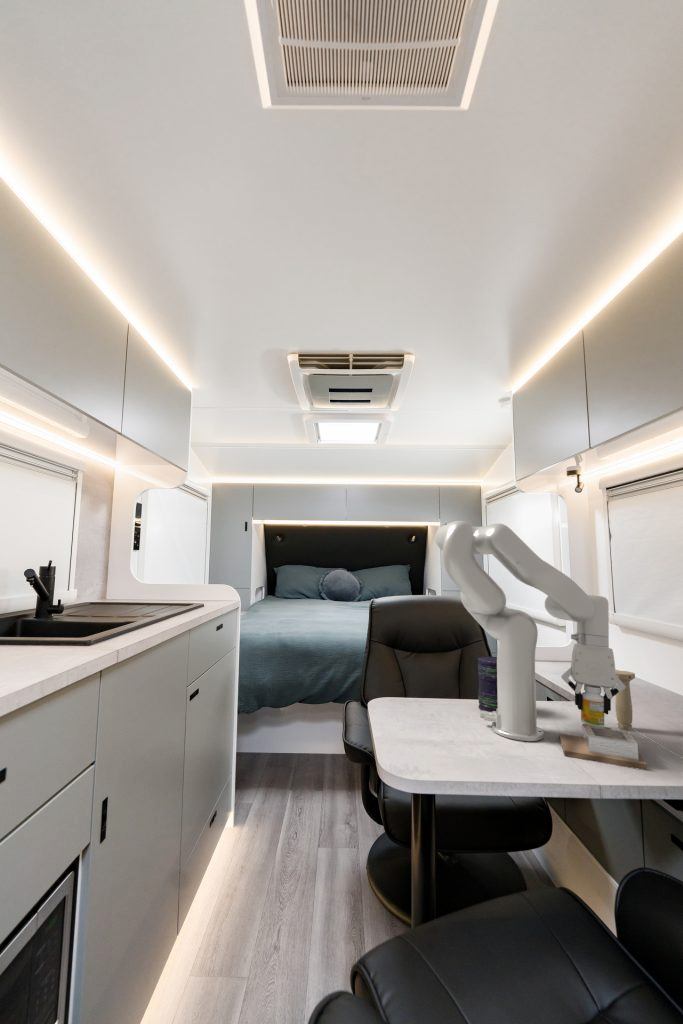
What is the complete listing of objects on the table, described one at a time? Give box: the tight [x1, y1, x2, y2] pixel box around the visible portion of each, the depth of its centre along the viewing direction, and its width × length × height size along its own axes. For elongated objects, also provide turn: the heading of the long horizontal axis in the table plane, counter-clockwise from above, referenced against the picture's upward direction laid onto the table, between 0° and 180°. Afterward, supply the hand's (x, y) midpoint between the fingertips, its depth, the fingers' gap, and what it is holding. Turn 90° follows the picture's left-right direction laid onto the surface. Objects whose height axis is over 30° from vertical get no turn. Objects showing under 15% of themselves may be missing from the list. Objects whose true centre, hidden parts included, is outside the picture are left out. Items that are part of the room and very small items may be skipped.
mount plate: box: [558, 732, 648, 771], centre depth 101 cm, size 16×12×1 cm
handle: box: [614, 669, 636, 731], centre depth 119 cm, size 5×6×15 cm
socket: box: [581, 723, 639, 761], centre depth 100 cm, size 10×10×4 cm
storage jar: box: [477, 655, 498, 712], centre depth 132 cm, size 10×10×15 cm
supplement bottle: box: [580, 684, 605, 727], centre depth 114 cm, size 5×5×10 cm
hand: (592, 710), depth 114 cm, fingers closed on supplement bottle, 5 cm apart
